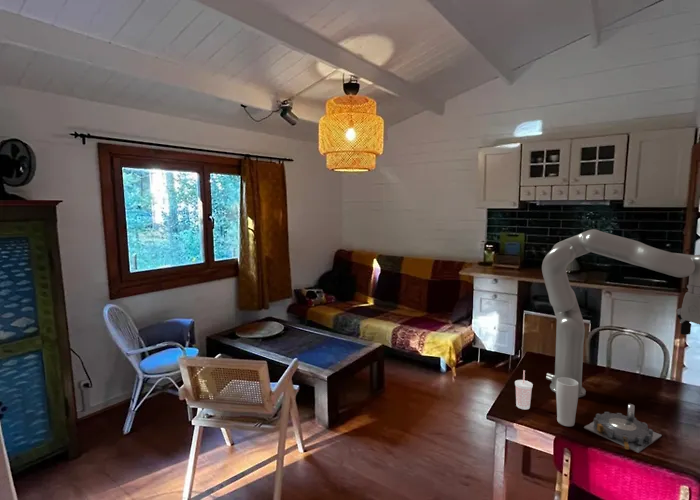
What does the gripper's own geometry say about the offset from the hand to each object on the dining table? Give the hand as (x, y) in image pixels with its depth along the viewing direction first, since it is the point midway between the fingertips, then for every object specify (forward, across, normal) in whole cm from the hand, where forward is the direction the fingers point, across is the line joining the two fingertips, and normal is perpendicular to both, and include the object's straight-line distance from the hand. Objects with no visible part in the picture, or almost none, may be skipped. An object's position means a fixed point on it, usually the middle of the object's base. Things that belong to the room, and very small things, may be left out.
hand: (698, 338), depth 137 cm
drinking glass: (+28, +1, -48) cm, 56 cm away
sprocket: (+27, +8, -34) cm, 44 cm away
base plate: (+27, +8, -34) cm, 44 cm away
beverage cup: (+28, -11, -57) cm, 64 cm away
